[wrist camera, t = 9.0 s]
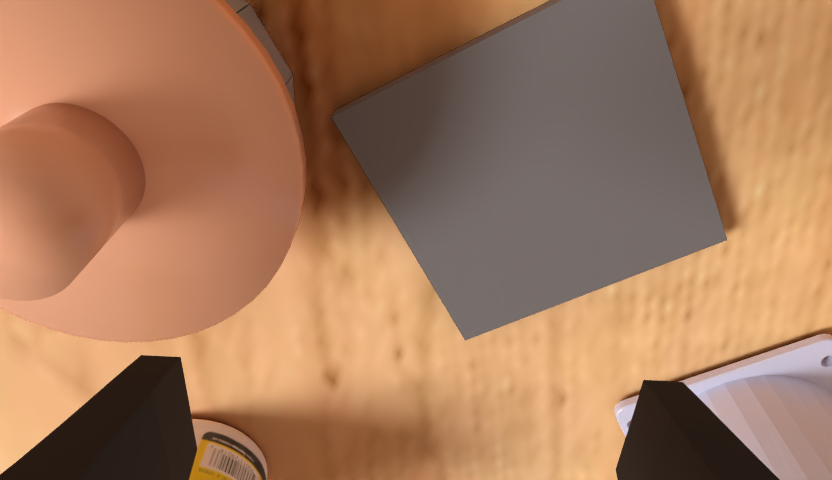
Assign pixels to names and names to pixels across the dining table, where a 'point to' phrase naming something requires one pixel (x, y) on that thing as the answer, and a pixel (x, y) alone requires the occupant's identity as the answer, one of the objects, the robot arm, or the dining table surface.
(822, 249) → the dining table surface
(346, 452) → the dining table surface
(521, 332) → the dining table surface
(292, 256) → the dining table surface
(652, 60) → the mat
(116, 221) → the lid
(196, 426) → the supplement bottle
